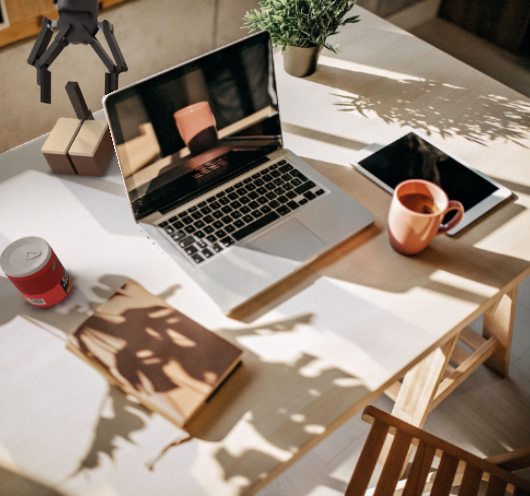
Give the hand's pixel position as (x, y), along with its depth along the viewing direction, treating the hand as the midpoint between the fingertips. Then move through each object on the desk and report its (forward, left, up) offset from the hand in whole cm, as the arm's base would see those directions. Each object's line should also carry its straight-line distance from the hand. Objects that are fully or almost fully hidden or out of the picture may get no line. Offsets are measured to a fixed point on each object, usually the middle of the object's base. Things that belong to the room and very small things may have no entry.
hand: (77, 105), depth 101 cm
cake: (+2, -4, -11) cm, 12 cm away
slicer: (-1, +1, -10) cm, 10 cm away
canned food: (+23, -29, -11) cm, 39 cm away
